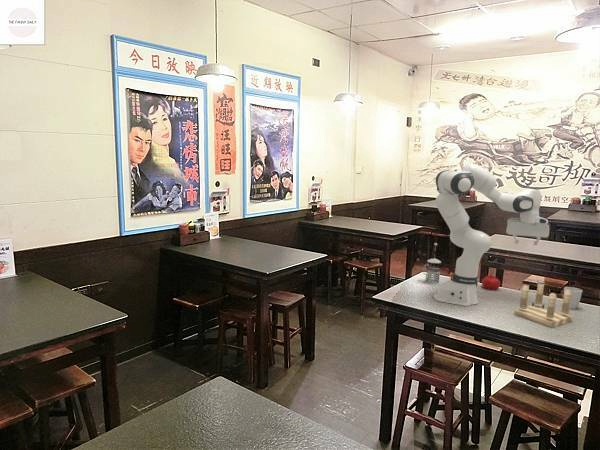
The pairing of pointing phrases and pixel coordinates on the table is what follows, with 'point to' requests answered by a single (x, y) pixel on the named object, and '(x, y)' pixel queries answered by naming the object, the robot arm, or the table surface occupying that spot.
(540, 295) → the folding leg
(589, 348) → the table surface
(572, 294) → the cup
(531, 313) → the stool
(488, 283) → the pomegranate
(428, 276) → the french press
